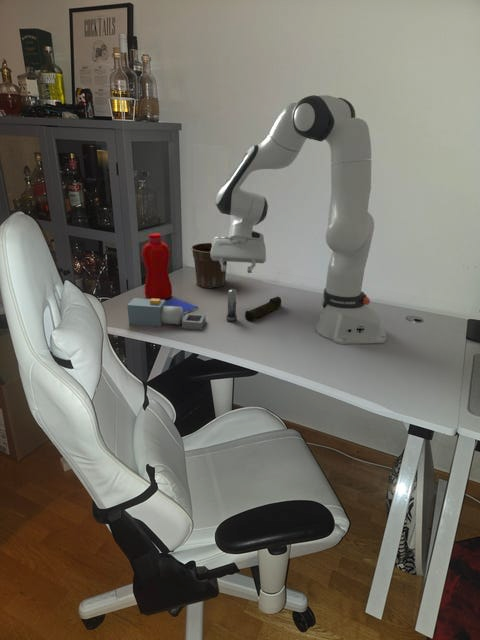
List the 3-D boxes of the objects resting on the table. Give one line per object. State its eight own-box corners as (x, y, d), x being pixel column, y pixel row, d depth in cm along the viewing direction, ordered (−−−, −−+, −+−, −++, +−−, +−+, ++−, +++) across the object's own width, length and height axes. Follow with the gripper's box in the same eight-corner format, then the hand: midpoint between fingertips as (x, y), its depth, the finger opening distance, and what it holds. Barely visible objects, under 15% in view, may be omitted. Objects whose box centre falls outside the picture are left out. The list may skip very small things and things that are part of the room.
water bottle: (153, 290, 167) (148, 229, 156) (175, 295, 162) (172, 232, 152) (138, 297, 159) (132, 233, 149) (161, 303, 155) (157, 237, 144)
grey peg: (237, 318, 144) (238, 288, 139) (236, 322, 140) (236, 292, 136) (227, 317, 144) (227, 288, 139) (225, 321, 141) (226, 291, 136)
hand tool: (252, 323, 141) (253, 311, 139) (244, 320, 143) (244, 307, 141) (286, 309, 153) (287, 297, 151) (278, 306, 156) (278, 294, 154)
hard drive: (158, 303, 152) (181, 312, 145) (175, 297, 158) (198, 306, 150) (159, 307, 152) (181, 316, 145) (175, 301, 158) (198, 310, 151)
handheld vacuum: (205, 321, 141) (205, 299, 137) (201, 329, 135) (201, 306, 131) (135, 316, 143) (133, 294, 140) (129, 324, 137) (126, 301, 134)
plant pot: (199, 276, 185) (199, 240, 178) (234, 279, 181) (234, 244, 175) (186, 287, 171) (184, 250, 164) (223, 292, 167) (223, 253, 160)
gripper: (211, 231, 149) (206, 265, 144) (267, 234, 147) (264, 269, 142) (213, 241, 154) (208, 273, 150) (267, 244, 152) (264, 277, 148)
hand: (236, 271), depth 146 cm, fingers open, 8 cm apart
